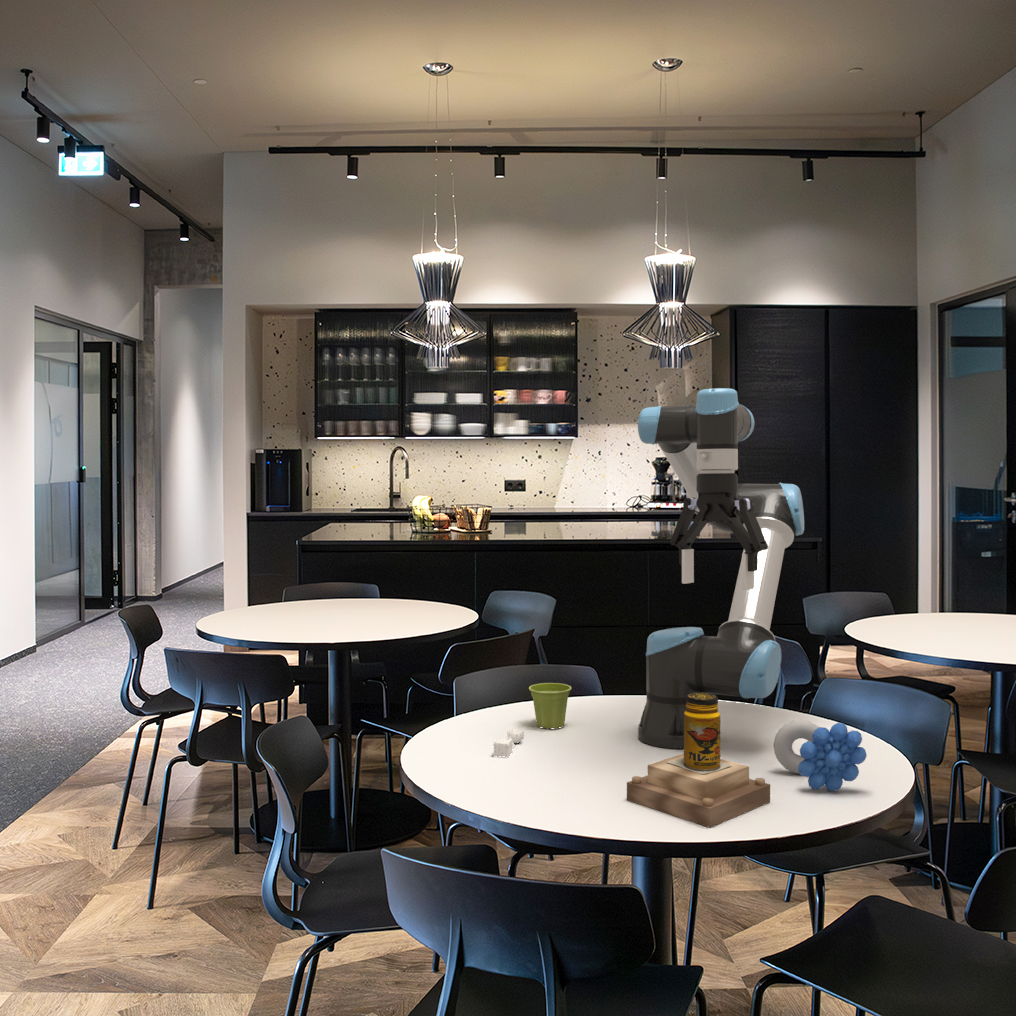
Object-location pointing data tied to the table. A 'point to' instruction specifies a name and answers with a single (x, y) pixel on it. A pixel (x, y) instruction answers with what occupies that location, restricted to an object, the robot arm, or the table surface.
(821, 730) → the blue sphere flower
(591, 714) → the table surface
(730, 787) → the wooden riser
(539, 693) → the plant pot
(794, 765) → the donut
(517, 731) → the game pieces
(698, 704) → the condiment
